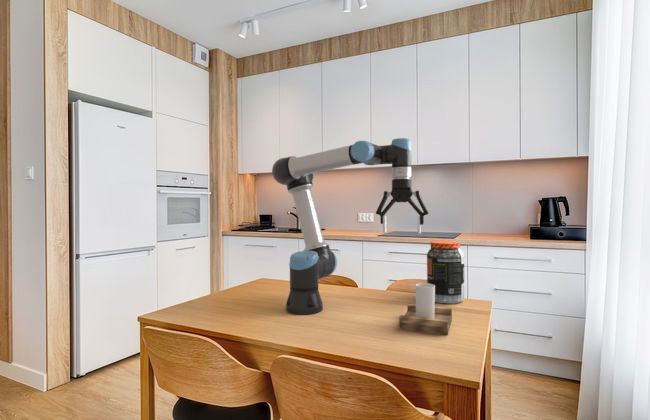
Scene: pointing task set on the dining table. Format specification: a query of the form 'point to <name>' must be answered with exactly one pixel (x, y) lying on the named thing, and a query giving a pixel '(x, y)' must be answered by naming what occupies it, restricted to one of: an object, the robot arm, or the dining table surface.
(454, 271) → the supplement tub
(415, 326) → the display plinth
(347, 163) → the robot arm
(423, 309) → the mug
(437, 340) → the dining table surface
